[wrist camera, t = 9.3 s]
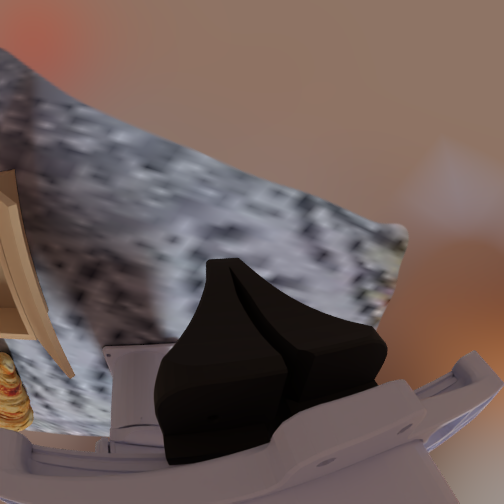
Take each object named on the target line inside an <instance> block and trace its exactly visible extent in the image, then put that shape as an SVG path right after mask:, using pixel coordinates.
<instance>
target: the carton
mask: <svg viewBox="0 0 504 504" xmlns="http://www.w3.org/2000/svg"><path fill="white" fill-rule="evenodd" d="M0 191H1V192H2V193H3V194H4V195H6V196H7V197H8V198H10V199H11V200H12V201H14V202H15V203H16V204H17V209H18V215H19V220H20V224H21V229H22V233H23V238H24V242H25V246H26V250H27V253H28V257H29V261H30V264H31V267H32V271H33V274H34V277H35V280H36V283H37V287H38V289H39V292H40V295H41V298H42V301H43V304H44V306H45V309H46V312H47V313H48V307H47V304H46V302H45V299H44V296H43V293H42V290H41V287H40V284H39V281H38V278H37V275H36V271H35V268H34V264H33V261H32V257H31V254H30V250H29V246H28V242H27V238H26V233H25V229H24V224H23V220H22V215H21V209H20V204H19V198H18V191H17V185H16V177H15V169H13V170H8V171H3V172H0ZM0 338H8V339H24V340H37V337H36V335H35V333H34V331H33V329H32V327H31V324H30V322H29V320H28V318H27V315H26V313H25V311H24V308H23V306H22V303H21V301H20V298H19V295H18V293H17V290H16V287H15V285H14V282H13V279H12V276H11V273H10V270H9V267H8V264H7V260H6V257H5V254H4V250H3V247H2V243H1V239H0Z"/></svg>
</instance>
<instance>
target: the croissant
mask: <svg viewBox="0 0 504 504" xmlns="http://www.w3.org/2000/svg"><path fill="white" fill-rule="evenodd" d="M32 422H33V410H32V408H31V406H30V399H29V397H28V395H27V394H26V392H25V390H24V388H23V386H22V382H21V379H20V377H19V376H18V375H17V373H16V371H15V365H14V363H13V360H12V359H11V357H10V356H9V355H8V354H6V353H4V352H0V428H4V429H9V430H13V431H16V432H18V431H21V430H24V429H25V428H27V427H28V426H30V425H31V424H32Z"/></svg>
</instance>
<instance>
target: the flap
mask: <svg viewBox="0 0 504 504" xmlns="http://www.w3.org/2000/svg"><path fill="white" fill-rule="evenodd" d="M0 239H1V243H2V247H3V250H4V254H5V257H6V260H7V264H8V267H9V270H10V273H11V276H12V279H13V282H14V285H15V287H16V290H17V293H18V295H19V298H20V301H21V303H22V306H23V308H24V311H25V313H26V315H27V318H28V320H29V322H30V324H31V327H32V329H33V331H34V333H35V335H36V337H37V339H38V340H39V341H40V343H41V344H42V345H43V347H44V348H45V349H46V351H47V352H48V353H49V354H50V356H51V357H52V358H53V359H54V361H55V362H56V363H57V364H58V365H59V367H60V368H61V369H62V370H63V371H64V373H65V374H66V375H67V376H68V377H69V378H70V379H71V378H72V377H74V376H75V374H74V372H73V370H72V368H71V366H70V364H69V362H68V360H67V358H66V356H65V354H64V352H63V349H62V347H61V345H60V343H59V341H58V338H57V336H56V334H55V331H54V329H53V327H52V324H51V322H50V319H49V317H48V314H47V312H46V309H45V306H44V304H43V301H42V298H41V295H40V292H39V289H38V287H37V283H36V280H35V277H34V274H33V271H32V267H31V264H30V261H29V257H28V253H27V250H26V246H25V242H24V238H23V233H22V229H21V224H20V220H19V215H18V209H17V204H16V203H15V202H14V201H12V200H11V199H10V198H8V197H7V196H6V195H4V194H3V193H2V192H1V191H0Z"/></svg>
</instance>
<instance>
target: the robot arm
mask: <svg viewBox="0 0 504 504" xmlns="http://www.w3.org/2000/svg"><path fill="white" fill-rule="evenodd" d="M103 354H104V357H105V359H106V362H107V364H108V367H109V370H110V372H111V374H112V377H113V385H112V403H111V428H110V442H108V438H104V437H102V438H101V440H99V441H98V442H96V447H95V449H96V450H95V452H85V451H84V452H83V451H74V450H66V449H58V448H50V447H44V446H39V445H33V444H31V442H30V441H29V440H28V439H27V438H26V437H25V436H24V435H22V434H20V433H19V432H16V431H13V430H9V429H4V428H0V500H1V501H3V502H5V503H7V504H460V503H459V501H458V500H457V498H456V496H455V495H454V493H453V491H452V490H451V488H450V486H449V485H448V483H447V481H446V480H445V478H444V477H443V475H442V473H441V472H440V470H439V469H438V467H437V465H436V464H435V462H434V461H433V459H432V457H431V456H430V454H429V452H430V451H432V450H433V449H435V448H436V447H437V446H439V445H440V444H442V443H443V442H444V441H446V440H447V439H449V438H450V437H451V436H452V435H454V434H455V433H456V432H458V431H459V430H460V429H462V428H463V427H464V426H465V425H467V424H468V423H469V422H470V421H472V420H473V419H474V418H475V417H476V416H477V415H478V414H479V413H480V412H481V411H482V410H483V409H484V407H486V406H487V404H488V403H489V402H490V401H491V400H492V399H493V398H494V397H495V395H496V394H497V393H498V392H499V390H501V388H502V387H503V386H504V383H503V381H502V380H501V379H500V378H499V377H498V375H497V374H496V373H495V372H494V371H493V370H492V369H491V368H490V366H489V365H488V364H487V363H486V362H485V361H484V360H483V358H482V357H481V356H480V355H479V354H478V353H477V352H476V351H475V350H473V351H472V352H470V353H468V354H466V355H465V356H463V357H462V358H460V359H459V360H458V361H457V363H456V364H455V365H454V367H453V369H452V371H451V372H449V373H447V374H445V375H443V376H442V377H440V378H438V379H436V380H434V381H432V382H430V383H428V384H426V385H424V386H422V387H420V388H418V389H416V390H414V391H413V390H412V389H411V387H410V386H409V384H408V383H407V382H406V381H405V380H401V379H400V380H395V381H390V382H387V383H385V384H382V385H379V386H378V385H377V383H376V382H375V380H374V379H375V377H376V375H377V374H378V372H379V370H380V369H381V367H382V365H383V363H384V361H385V359H386V356H387V346H386V343H385V342H384V341H383V339H382V338H381V337H380V336H379V334H378V333H377V332H376V330H375V329H374V328H373V327H372V326H368V325H364V324H359V323H355V322H351V321H347V320H343V319H340V318H337V317H334V316H331V315H328V314H325V313H323V312H320V311H318V310H316V309H313V308H311V307H309V306H307V305H304V304H302V303H300V302H299V301H297V300H295V299H293V298H291V297H290V296H288V295H286V294H285V293H283V292H281V291H280V290H279V289H277V288H276V287H274V286H273V285H271V284H270V283H269V282H267V281H266V280H265V279H263V278H262V277H261V276H259V275H258V274H257V273H256V272H255V271H253V270H252V269H251V268H250V267H249V266H247V265H246V264H245V263H244V262H243V261H242V260H240V259H239V258H226V259H209V260H208V261H207V262H206V283H205V288H204V291H203V294H202V297H201V300H200V303H199V305H198V308H197V310H196V312H195V314H194V316H193V318H192V320H191V321H190V323H189V325H188V327H187V328H186V330H185V331H184V333H183V334H182V335H181V337H180V338H179V340H178V341H177V342H176V343H171V344H154V345H132V346H105V347H103Z"/></svg>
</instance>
